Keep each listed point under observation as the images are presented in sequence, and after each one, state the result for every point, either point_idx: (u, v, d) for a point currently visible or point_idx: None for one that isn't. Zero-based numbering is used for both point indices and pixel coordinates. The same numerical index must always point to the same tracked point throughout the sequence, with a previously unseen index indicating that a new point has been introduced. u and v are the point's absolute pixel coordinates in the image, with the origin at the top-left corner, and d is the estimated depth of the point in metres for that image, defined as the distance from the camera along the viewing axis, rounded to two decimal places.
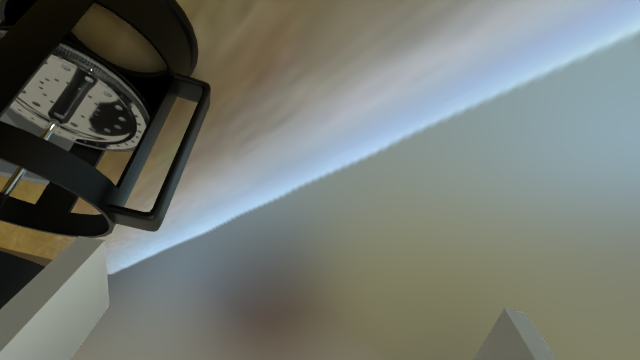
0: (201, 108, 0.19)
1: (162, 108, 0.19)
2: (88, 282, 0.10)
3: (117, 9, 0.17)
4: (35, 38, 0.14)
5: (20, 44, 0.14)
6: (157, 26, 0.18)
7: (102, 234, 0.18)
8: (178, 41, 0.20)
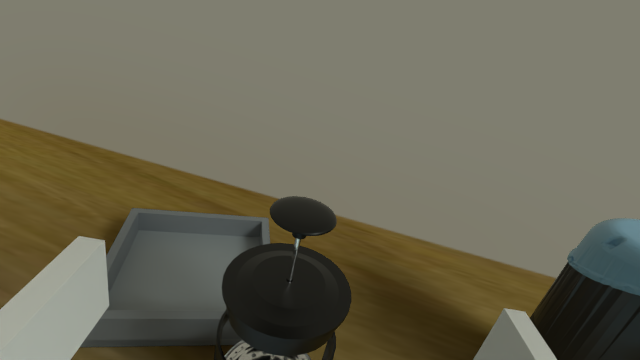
0: None
1: None
2: (88, 282, 0.10)
3: None
4: None
5: None
6: None
7: None
8: None
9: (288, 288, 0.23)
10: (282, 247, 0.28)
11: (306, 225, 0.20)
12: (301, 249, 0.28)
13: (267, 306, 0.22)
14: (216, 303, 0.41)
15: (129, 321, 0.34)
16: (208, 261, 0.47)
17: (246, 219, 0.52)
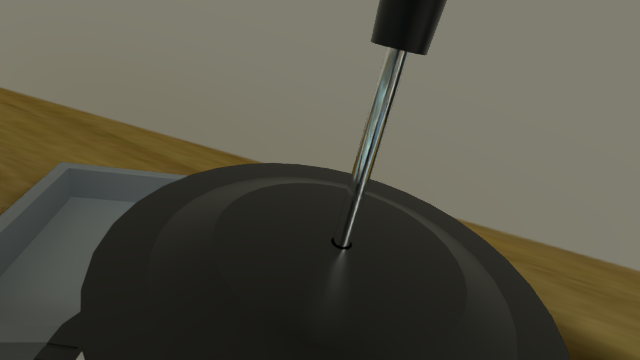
0: None
1: None
2: None
3: None
4: None
5: None
6: None
7: None
8: None
9: (343, 269, 0.06)
10: (306, 172, 0.11)
11: None
12: None
13: (266, 342, 0.05)
14: None
15: None
16: None
17: None
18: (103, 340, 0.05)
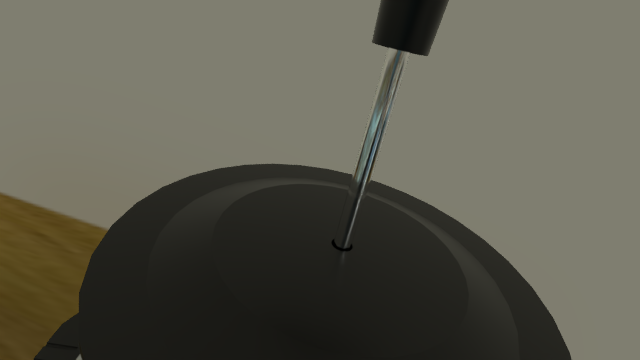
0: None
1: None
2: None
3: None
4: None
5: None
6: None
7: None
8: None
9: (344, 271, 0.06)
10: (306, 173, 0.11)
11: None
12: None
13: (267, 346, 0.05)
14: None
15: None
16: None
17: None
18: (102, 343, 0.05)
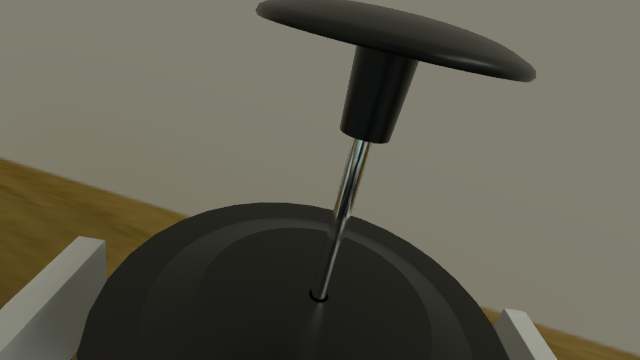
0: None
1: None
2: (88, 282, 0.10)
3: None
4: None
5: None
6: None
7: None
8: None
9: (318, 325, 0.07)
10: (292, 211, 0.11)
11: (441, 30, 0.04)
12: None
13: None
14: None
15: None
16: None
17: None
18: None
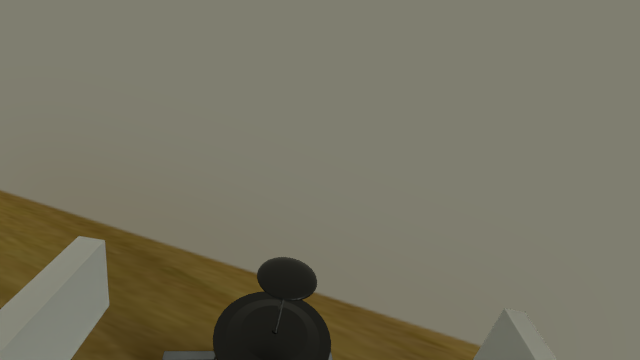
0: None
1: None
2: (88, 282, 0.10)
3: None
4: None
5: None
6: None
7: None
8: None
9: (273, 340, 0.26)
10: (270, 295, 0.30)
11: (289, 291, 0.23)
12: None
13: (253, 359, 0.24)
14: None
15: None
16: None
17: None
18: (221, 359, 0.24)
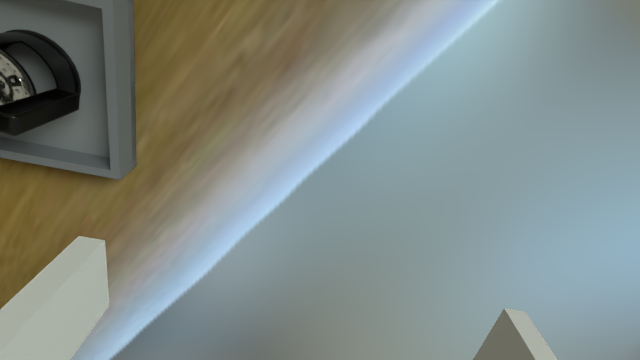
0: (68, 98, 0.35)
1: (44, 96, 0.34)
2: (88, 282, 0.10)
3: (33, 47, 0.34)
4: None
5: None
6: (54, 61, 0.36)
7: None
8: (66, 74, 0.37)
9: None
10: None
11: None
12: None
13: None
14: (83, 53, 0.37)
15: (120, 139, 0.39)
16: (14, 54, 0.37)
17: None
18: None
